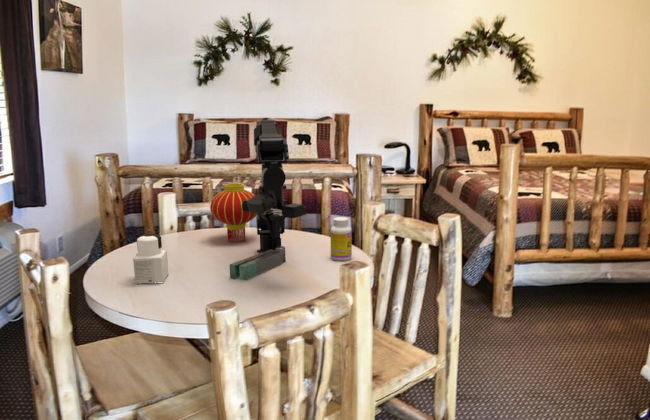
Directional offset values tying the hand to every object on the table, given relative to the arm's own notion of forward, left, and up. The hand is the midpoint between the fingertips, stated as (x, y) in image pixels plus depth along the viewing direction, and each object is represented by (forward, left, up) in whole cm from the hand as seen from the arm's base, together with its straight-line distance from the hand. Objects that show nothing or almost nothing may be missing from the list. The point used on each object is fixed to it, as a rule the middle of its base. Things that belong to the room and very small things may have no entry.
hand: (274, 237), depth 155 cm
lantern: (-38, +24, -12) cm, 46 cm away
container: (-29, -20, -12) cm, 37 cm away
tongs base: (-9, +4, -12) cm, 15 cm away
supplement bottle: (+5, +26, -12) cm, 29 cm away
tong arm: (-7, +2, -12) cm, 14 cm away
